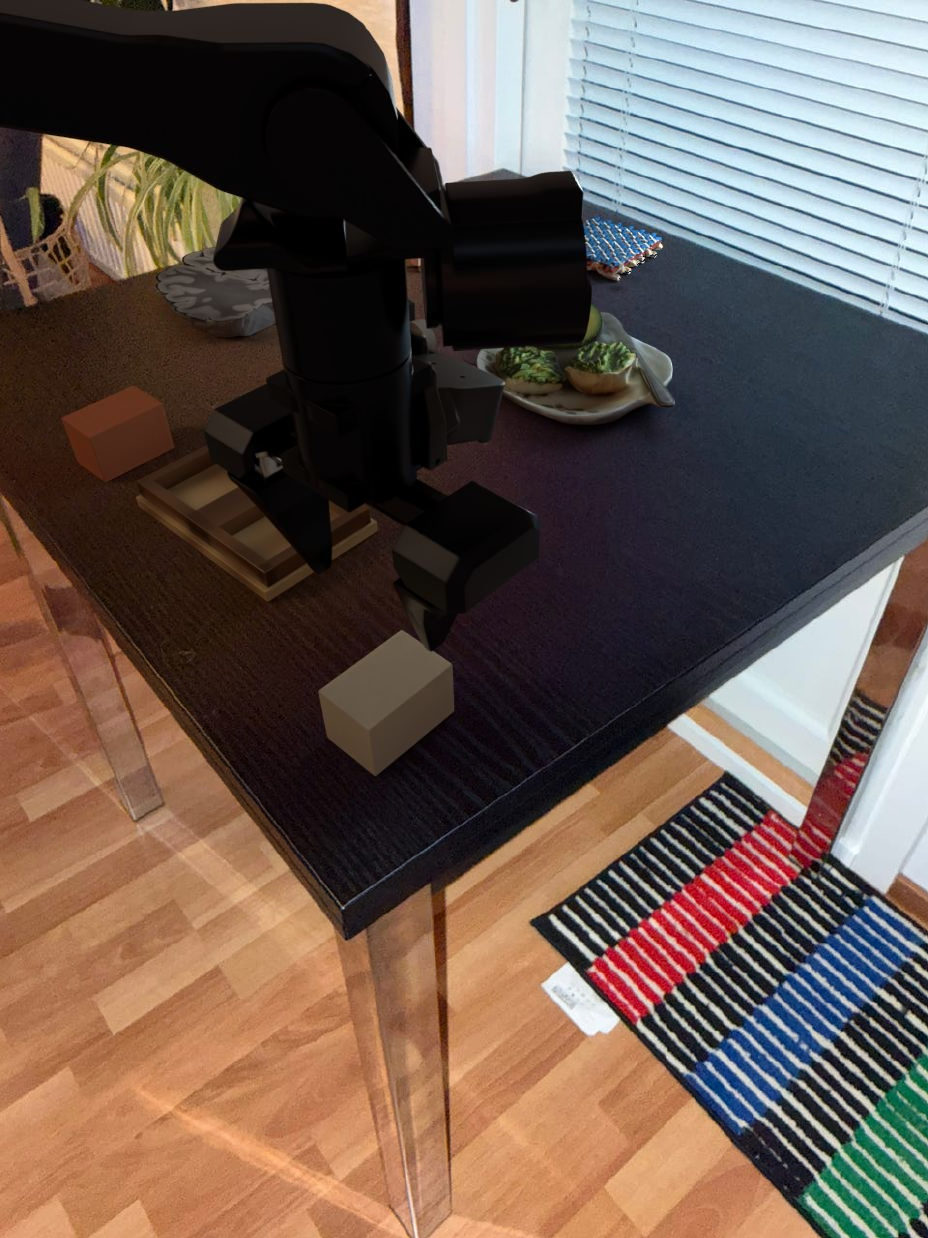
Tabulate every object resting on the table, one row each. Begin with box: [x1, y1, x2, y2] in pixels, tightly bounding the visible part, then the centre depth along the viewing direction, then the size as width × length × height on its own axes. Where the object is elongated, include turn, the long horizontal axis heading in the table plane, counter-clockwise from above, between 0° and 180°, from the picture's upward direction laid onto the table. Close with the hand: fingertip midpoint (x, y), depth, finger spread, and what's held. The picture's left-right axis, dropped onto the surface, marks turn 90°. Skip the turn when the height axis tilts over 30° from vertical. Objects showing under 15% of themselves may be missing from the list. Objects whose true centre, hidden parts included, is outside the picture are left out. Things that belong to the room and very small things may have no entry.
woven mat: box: [583, 216, 664, 282], centre depth 108 cm, size 10×11×2 cm
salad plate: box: [475, 303, 676, 426], centre depth 87 cm, size 19×18×5 cm
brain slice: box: [154, 246, 276, 339], centre depth 101 cm, size 20×17×3 cm
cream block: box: [317, 629, 455, 777], centre depth 58 cm, size 7×4×4 cm, turn 137°
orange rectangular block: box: [61, 385, 175, 483], centre depth 80 cm, size 7×4×4 cm, turn 137°
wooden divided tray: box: [135, 444, 378, 603], centre depth 74 cm, size 17×11×2 cm, turn 47°
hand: (376, 606), depth 52 cm, fingers open, 9 cm apart
